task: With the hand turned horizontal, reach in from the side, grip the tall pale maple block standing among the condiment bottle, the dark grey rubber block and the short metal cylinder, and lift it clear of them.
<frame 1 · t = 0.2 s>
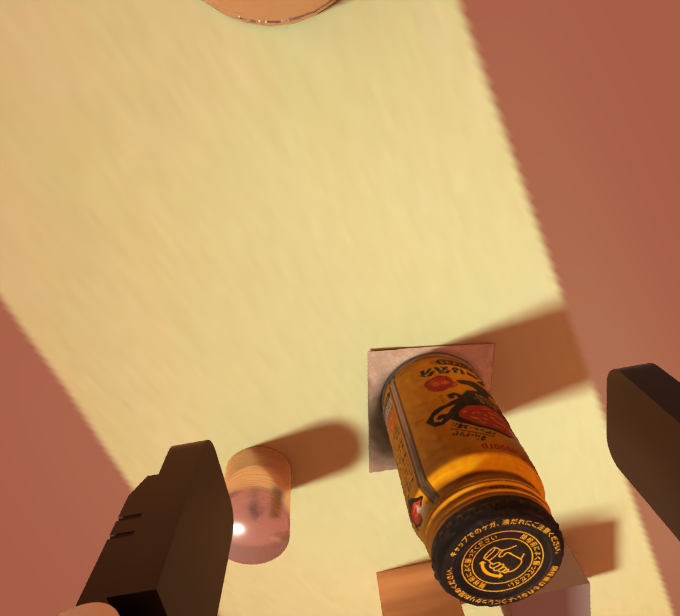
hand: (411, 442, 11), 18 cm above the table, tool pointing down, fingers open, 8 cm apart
condiment: (427, 406, 32), on the table
maple block: (416, 589, 38), on the table
rubber block: (527, 565, 38), on the table
metal cylinder: (258, 473, 33), on the table
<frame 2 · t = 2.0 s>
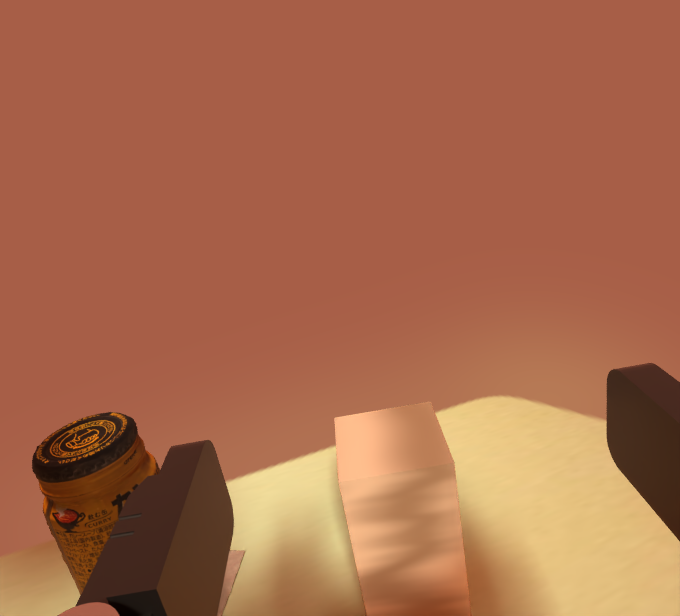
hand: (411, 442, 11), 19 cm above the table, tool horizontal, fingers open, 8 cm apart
condiment: (162, 605, 32), on the table
maple block: (415, 605, 29), on the table
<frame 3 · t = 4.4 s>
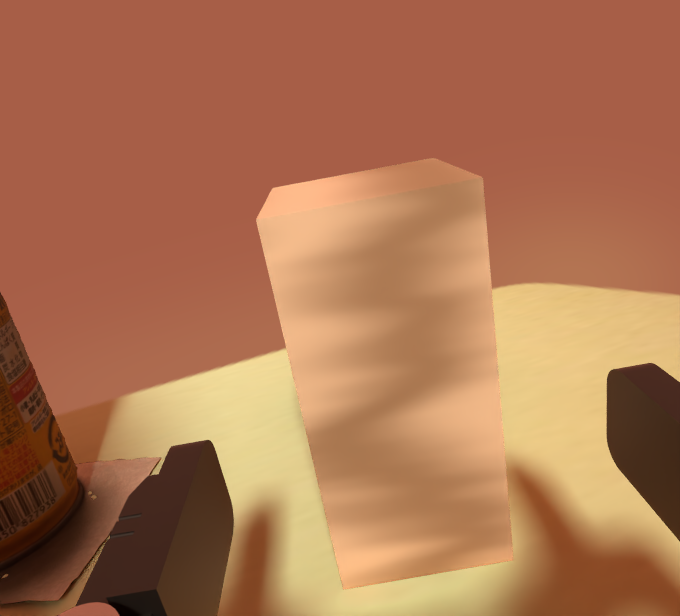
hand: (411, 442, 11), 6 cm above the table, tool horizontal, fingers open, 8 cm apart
condiment: (24, 530, 21), on the table
maple block: (413, 513, 18), on the table
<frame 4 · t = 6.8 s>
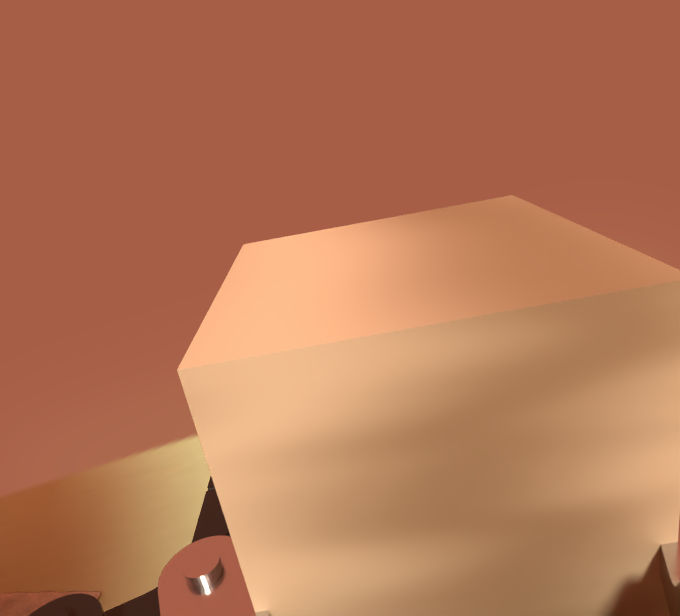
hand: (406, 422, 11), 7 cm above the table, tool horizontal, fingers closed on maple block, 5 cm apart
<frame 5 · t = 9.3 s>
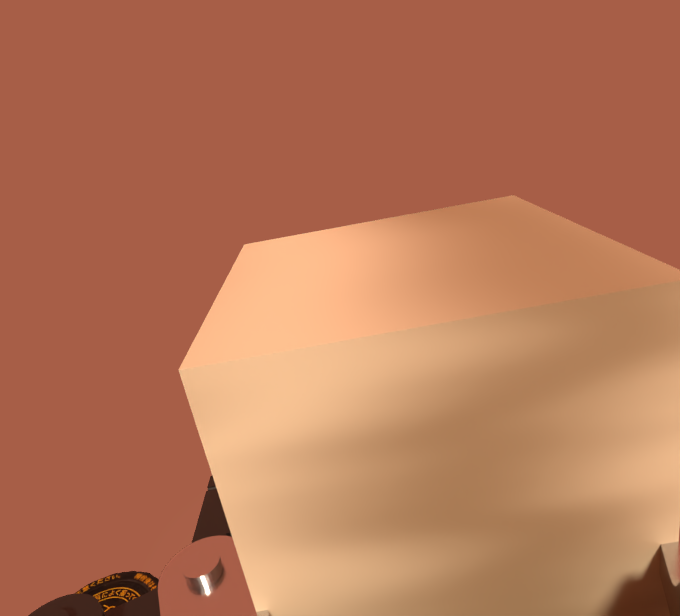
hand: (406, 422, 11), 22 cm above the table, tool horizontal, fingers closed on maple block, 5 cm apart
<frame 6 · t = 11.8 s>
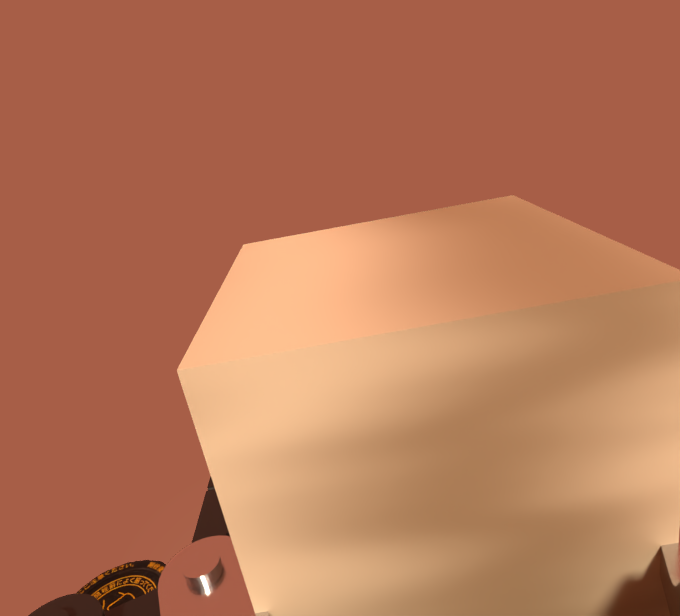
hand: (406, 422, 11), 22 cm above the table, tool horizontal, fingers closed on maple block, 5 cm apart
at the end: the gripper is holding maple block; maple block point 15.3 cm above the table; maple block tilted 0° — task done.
